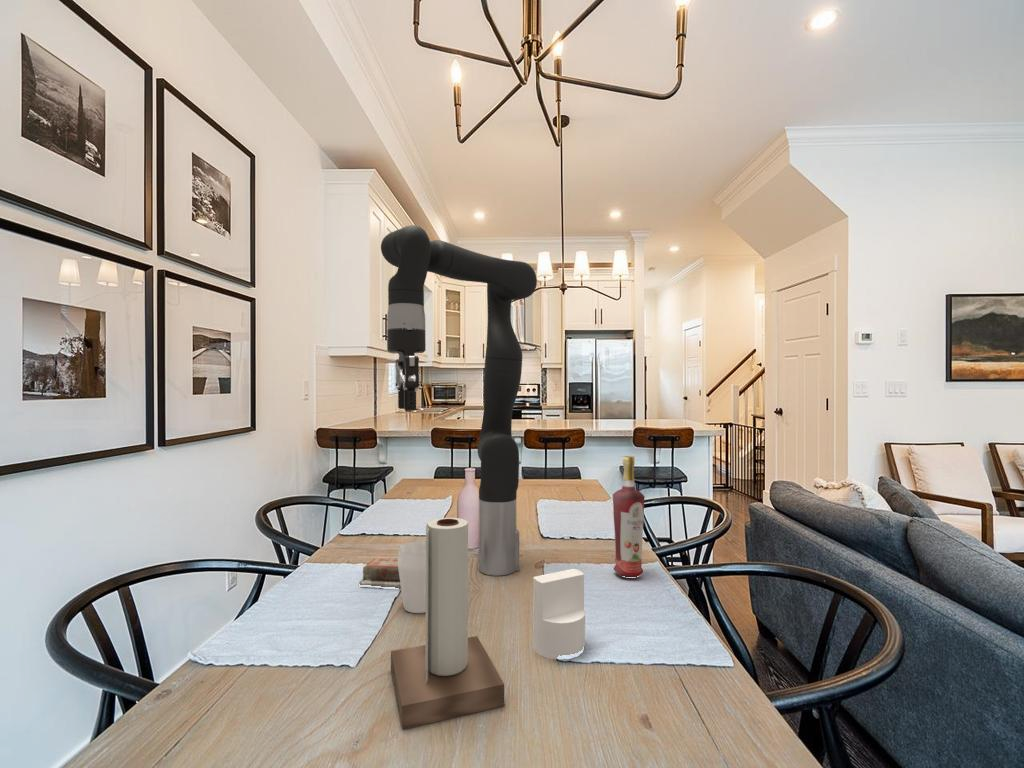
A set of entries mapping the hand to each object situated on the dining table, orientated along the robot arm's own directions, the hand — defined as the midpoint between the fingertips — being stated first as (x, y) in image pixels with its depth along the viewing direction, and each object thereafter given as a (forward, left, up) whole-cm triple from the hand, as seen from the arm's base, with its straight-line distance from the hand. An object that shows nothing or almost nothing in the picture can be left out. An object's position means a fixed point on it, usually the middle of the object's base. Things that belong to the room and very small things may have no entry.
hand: (406, 409), depth 98 cm
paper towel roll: (-2, +27, -37) cm, 46 cm away
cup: (-3, -1, -40) cm, 40 cm away
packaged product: (-2, -15, -41) cm, 43 cm away
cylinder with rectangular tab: (-23, +22, -40) cm, 51 cm away
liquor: (-52, -1, -40) cm, 66 cm away
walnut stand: (-2, +27, -40) cm, 48 cm away
